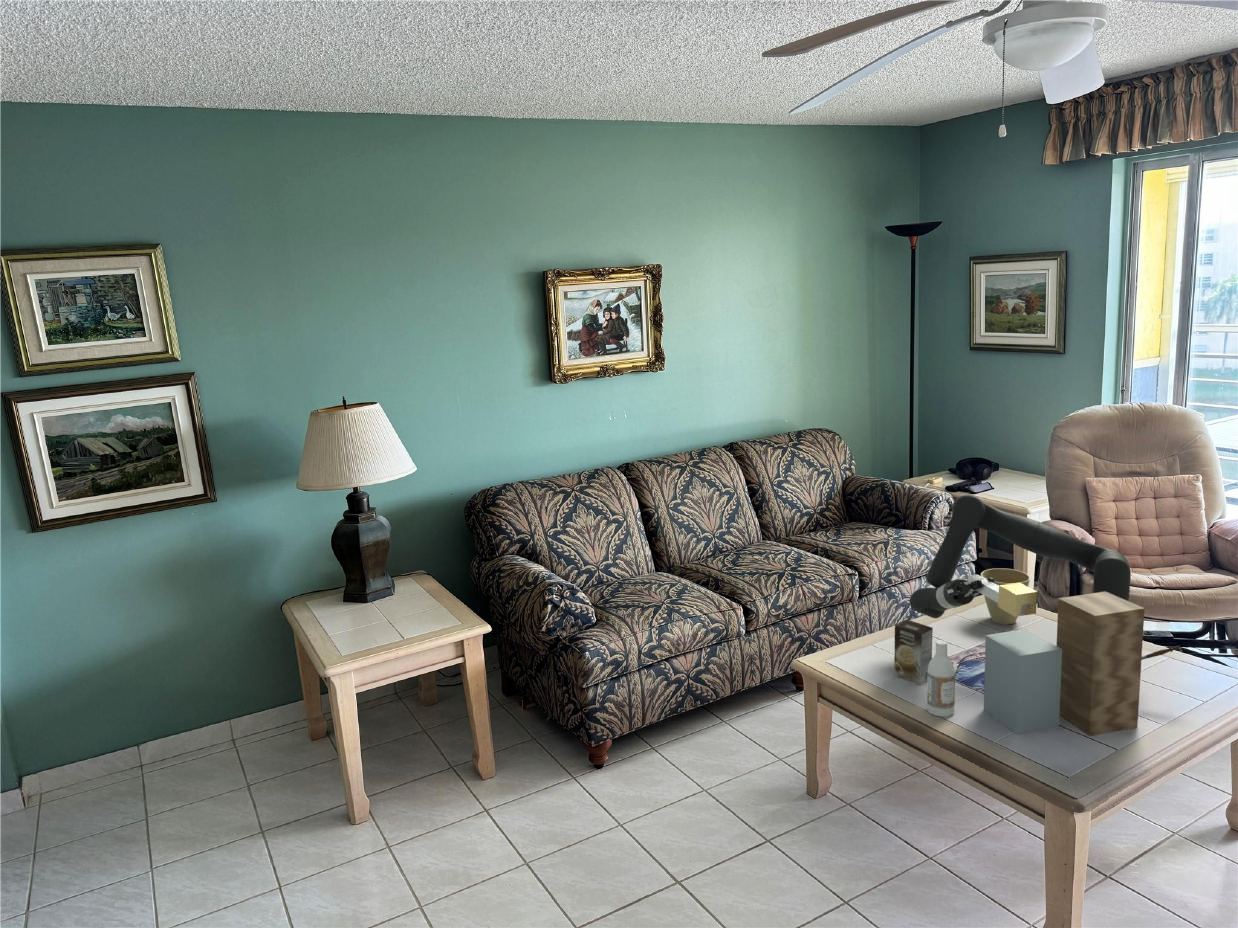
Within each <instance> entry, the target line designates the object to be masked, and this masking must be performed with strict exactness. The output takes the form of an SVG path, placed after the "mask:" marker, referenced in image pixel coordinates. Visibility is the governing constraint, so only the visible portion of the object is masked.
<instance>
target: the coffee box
mask: <svg viewBox="0 0 1238 928" xmlns="http://www.w3.org/2000/svg"><path fill="white" fill-rule="evenodd" d="M933 630H934V628H933V627H932V626H930V625H929V626H928V625H926V624H922V623H919V622H915V621H913V620H910V619H907V618H906V619H904V620H903V621H900V622H899V623H897V624H895V625H894V653H893V655H894V657H893V658H894V659H893V660H894V662H893V663H894V667H893V668H894V670H893V671H894V672H893V673H894V674H893V675H894V676H896V677H897V678H900V679H902V680H905V681H908V682H911V683H915V684H917V685H919V686H920V685H922V684H924V683H927V670H928V665H929V662H930V661H931V659H932V658H933V632H934V631H933Z"/></svg>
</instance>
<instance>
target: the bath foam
mask: <svg viewBox="0 0 1238 928" xmlns="http://www.w3.org/2000/svg"><path fill="white" fill-rule="evenodd" d="M926 683H927V685H926V688H927V689H926V691H927V692H926V693H927V694H926V702H927V703H926V709H927V711H928V713H929V714H930V715H933V716H935V717H940V718H942V717H943V718H945V717H947V718H948V717H950V716H953V715H954V713H955V703H956V702H955V701H956V699H955V698H956V697H955V695H956V693H955V692H956V668H955V665H954V663H953V661H952V660H951V658H950V657H949V655H948V642H947V641H946V640H942V639H940V640H939V639H938V640H936V641H935V654H934V655H933V656H932V659H931V661H930V662H929V665H928V670H927V681H926Z"/></svg>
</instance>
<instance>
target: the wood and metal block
mask: <svg viewBox="0 0 1238 928" xmlns="http://www.w3.org/2000/svg"><path fill="white" fill-rule="evenodd" d="M976 580H981V581H982V585H983V587H982V588H979V589H976V591H978V592H979V594H981V595H982V596H984V595H985V596H986V597H988V598H990V599H992V600H993V601H995V602H997V603H998V607H999V608H1001V609H1003V610H1004V611H1006V612H1008V613H1009V614H1011V615H1013V616H1015V617H1017V616H1018V617H1022V616H1030V615H1031V616H1032V615H1036V614H1037V605H1038V604H1037V603H1038V602H1037V601H1038V599H1037V598H1038V591H1037V590H1034V589H1033V588H1031V587H1030V586H1028V587H1027V586H1025V585H1023V584H1021V583H1013V584H1005V585H999V586H998V585H996V584H994V583H993V582H991V581H989V580H987V579H985V578H983V577H982V576H981V574H980V575H979V574H977V573H976V574H969V575H967V581H968V582H973V581H976Z"/></svg>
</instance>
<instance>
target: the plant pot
mask: <svg viewBox="0 0 1238 928" xmlns="http://www.w3.org/2000/svg"><path fill="white" fill-rule="evenodd" d="M980 576H982V577H983V578H985V579H989V578H993V579H994V582H995V584H996V585H998V586H999V585H1005V584H1013V583H1021V584H1023V585H1025V586H1027V587H1029V585H1030V580H1031V577H1030V575H1029V574H1028V573H1026V572H1023V571H1020V570H1018V569H1012V568H1002V567H1001V568H989V569H985V570H983V571H982V572H981V573H980ZM983 597H984V600H985V603H986V607H987V610H988V613H989V616H990V618H991V620H992V621H993V622H994V623H996V624H999V625H1013V624H1015V623H1016V622H1017V620H1018V618H1019V616H1017V617H1015V616H1013V615H1011V614H1009V613H1008V612H1006V611H1004V610H1003V609H1001V608H999V607H998V603H997V602H995V601H993V600H992V599H990V598H988V597H986V596H985V595H983Z"/></svg>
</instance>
